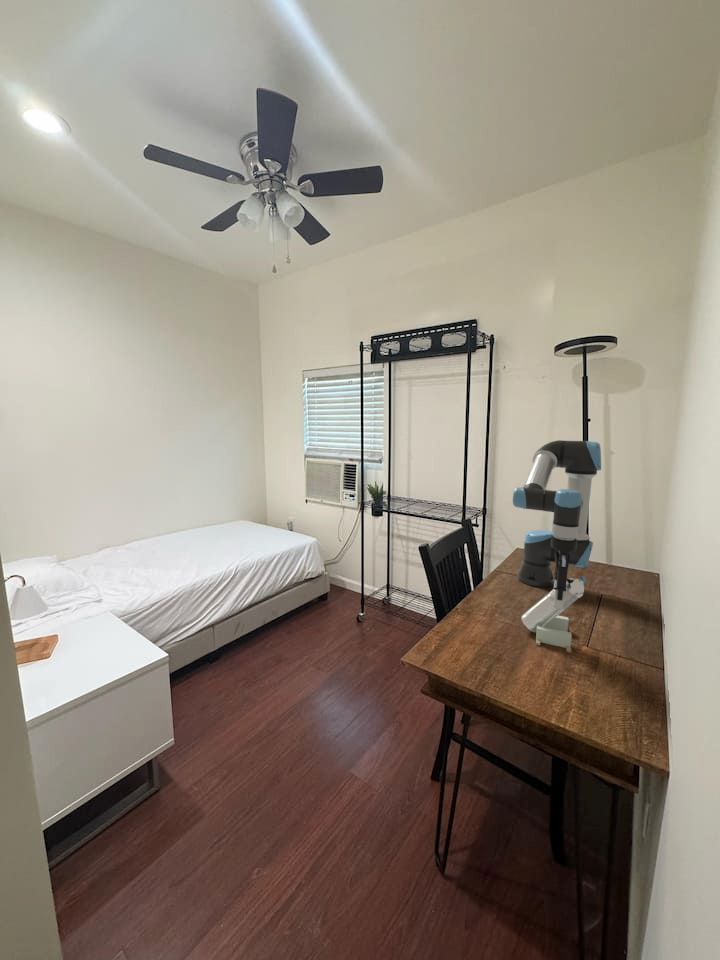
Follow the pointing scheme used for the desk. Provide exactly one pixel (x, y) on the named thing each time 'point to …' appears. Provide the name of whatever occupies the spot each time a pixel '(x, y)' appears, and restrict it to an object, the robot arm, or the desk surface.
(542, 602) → the water bottle
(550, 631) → the u rest
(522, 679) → the desk surface
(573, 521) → the robot arm
